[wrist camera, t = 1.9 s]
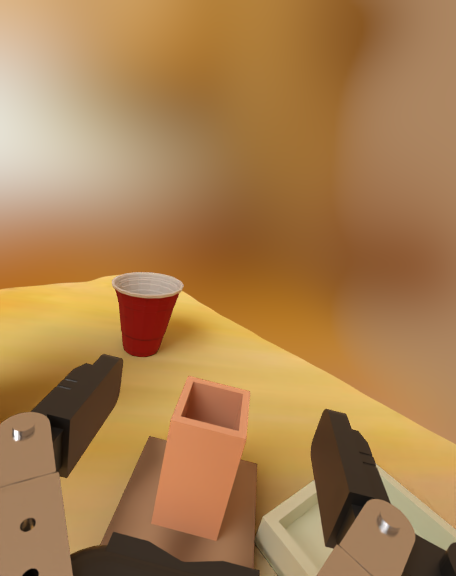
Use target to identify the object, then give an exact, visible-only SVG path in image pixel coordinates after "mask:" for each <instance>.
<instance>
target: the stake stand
mask: <svg viewBox="0 0 456 576" xmlns="http://www.w3.org/2000/svg"><path fill="white" fill-rule="evenodd" d="M166 443H167V441H166V440H163V439H159V438H155V437H151V436H149V438H148V440H147V442H146V445H145V447H144V449H143V451H142V454H141V456H140V458H139V460H138V462H137V465H136V467H135V469H134V471H133V473H132V476H131V478H130V480H129V482H128V485H127V487H126V489H125V491H124V493H123V496H122V498H121V500H120V502H119V504H118V507H117V509H116V511H115V513H114V515H113V518H112V520H111V522H110V524H109V527H108V529H107V531H106V533H105V535H104V538H103V540H102V542H101V544H100V545H108V542H109V540H110V538H111V535H112V533H113V532H117V533H120V534H124V535H128V536H132V537H135V538H139V539H143V540H147V541H149V542H151V543H153V544H154V545H156V546H158V547H159V548H161V549H163V550H164V551H166V552H168V553H169V554H171V555H172V556H174V557H176V558H177V559H179V560H181V561H184V562H201V561H226V562H230V563H233V564H237V565H241V566H245V567H248V568H252V569H253V568H254V539H255V511H256V482H257V464H256V463H252V462H248V461H244V460H240V462H239V466H238V469H237V473H236V476H235V479H234V483H233V486H232V490H231V493H230V496H229V500H228V503H227V507H226V510H225V513H224V517H223V520H222V524H221V527H220V530H219V534H218V537H217V541H214V540H210V539H207V538H203V537H199V536H195V535H192V534H188V533H184V532H181V531H177V530H173V529H169V528H166V527H162V526H158V525H154V524H151V522H152V516H153V511H154V506H155V501H156V495H157V490H158V485H159V479H160V474H161V469H162V464H163V458H164V453H165V448H166Z"/></svg>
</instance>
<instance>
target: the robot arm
mask: <svg viewBox="0 0 456 576" xmlns="http://www.w3.org/2000/svg"><path fill="white" fill-rule="evenodd" d="M122 368H123V359H122V358H118V357H114V356H110V355H106V354H103V355H101V356H100V358H99V359H98V360H97V361H96V362H95V363H94V364H93V365H91V364H87V363H86V364H84V365H81V366H79V367H77V368H75V369H73V370H72V371H71V372H70V373H69V374H68V375H67V376H66V377H65V379H64V380H62V381H61V382H60V383H59V384H58V386H57V387H55V388H54V389H53V390H52V391H51V392H50V393H49V394H48V395H47V396H46V397H45V398H44V399H43V400H42V401H41V402H40V403H39V404H38V405H37V406H36V407H35V408H34V409H33V410H32V411H31V412H25V413H20V414H17V415H14V416H11V417H9V418H8V419H6V420H5V421H3V422H2V423H1V424H0V576H259V570H256V569H252V568H248V567H245V566H241V565H237V564H233V563H230V562H226V561H201V562H184V561H181V560H179V559H177V558H176V557H174V556H172V555H171V554H169V553H168V552H166V551H164V550H163V549H161V548H159V547H158V546H156V545H154V544H153V543H151V542H149V541H147V540H143V539H139V538H135V537H132V536H128V535H124V534H120V533H117V532H113V533H112V535H111V538H110V540H109V542H108V545H99V546H93V547H89V548H85V549H82V550H80V551H77V552H75V553H72V554H71V555H70V550H69V543H68V535H67V528H66V520H65V513H64V505H63V498H62V490H61V483H60V476H61V477H65V478H67V477H68V476H69V474H70V473H71V471H72V470H73V468H74V467H75V465H76V464H77V462H78V461H79V459H80V458H81V456H82V455H83V453H84V452H85V450H86V449H87V447H88V446H89V444H90V443H91V441H92V440H93V438H94V437H95V435H96V434H97V432H98V431H99V429H100V428H101V426H102V425H103V423H104V422H105V420H106V419H107V417H108V416H109V414H110V413H111V411H112V410H113V408H114V406H115V404H116V402H117V400H118V397H119V393H120V385H121V377H122ZM311 461H312V467H313V473H314V480H315V486H316V492H317V499H318V505H319V511H320V517H321V524H322V530H323V536H324V543H325V547H329V548H333V551H332V552H331V554H330V555H329V557H328V558H327V560H326V561H325V563H324V564H323V566H322V568H321V569H320V571H319V572H318V574H317V575H316V576H456V542H454V543H452V544H450V546H449V547H448V549H447V550H444V549H442V548H440V547H438V546H436V545H434V544H433V543H431V542H429V541H427V540H425V539H423V538H422V537H420V536H418V535H417V534H415V532H414V529H413V527H412V525H411V523H410V521H409V520H408V519H407V517H406V516H405V515H404V514H403V513H402V512H401V511H400V510H399V509H398V508H396V507H395V506H393V505H392V504H391V503H390V500H389V497H388V495H387V492H386V489H385V487H384V484H383V482H382V479H381V476H380V474H379V471H378V469H377V467H376V463H375V461H374V458H373V457H372V453H371V450H370V448H369V445H368V443H367V441H366V440H365V439H364V438H363V436H362V435H361V434H360V433H359V431H356V430H352V429H351V426H350V423H349V420H348V417H347V415H346V414H345V413H340V412H336V411H332V410H328V409H325V410H324V411H323V413H322V416H321V419H320V421H319V424H318V427H317V430H316V432H315V435H314V438H313V441H312V445H311Z"/></svg>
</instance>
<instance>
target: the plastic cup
mask: <svg viewBox="0 0 456 576" xmlns="http://www.w3.org/2000/svg"><path fill="white" fill-rule="evenodd" d="M112 285H113V288H114V289H115V290H116V293H117V296H118V302H119V311H120V322H121V331H122V341H123V346H124V350H125V351H126V352H127V353H129V354H131V355H134V356H139V357H147V356H151V355H153V354H155V353H156V352H157V350H158V349H159V347H160V344H161V341H162V338H163V336H164V334H165V332H166V329H167V326H168V323H169V320H170V317H171V314H172V311H173V308H174V305H175V303H176V300H177V298H178V295H179V293H180V292H181V290H182V288H183V284H182V282H181V281H180V280H177V279H176V278H174V277H171V276H167V275H164V274H157V273H151V272H149V273H148V272H135V273H126V274H123V275H119V276H117V277H115V278H114V279H113V280H112Z"/></svg>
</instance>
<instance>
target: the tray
mask: <svg viewBox="0 0 456 576" xmlns="http://www.w3.org/2000/svg"><path fill="white" fill-rule="evenodd" d="M376 467H377V469H378V471H379V474H380V476H381V479H382V482H383V484H384V487H385V489H386V492H387V495H388V497H389V500H390V503H391V504H392V505H393V506H395V507H396V508H398V509H399V510H400V511H401V512H402V513H403V514H404V515H405V516H406V517H407V519H408V520H409V521H410V523H411V525H412V527H413V529H414V532H415V534H417V535H418V536H420V537H422V538H423V539H425V540H427V541H429V542H431V543H433V544H434V545H436V546H438V547H440V548H442V549H444V550H447V549H448V547H449V546H450V544H452V543H454V542H456V529H455V528H453V527H452V526H451V525H450V524H448V523H447V522H446V521H445V520H444V519H442V518H441V517H440V516H439V515H438V514H436V513H435V512H434V511H433V510H431V509H430V508H429V507H428V506H427V505H425V504H424V503H423V502H422V501H421V500H419V499H418V498H417V497H416V496H414V495H413V494H412V493H411V492H410V491H408V490H407V489H406V488H405V487H404V486H402V485H401V484H400V483H399V482H397V481H396V480H395V479H394V478H393V477H391V476H390V475H389V474H388V473H387V472H385V471H384V470H383V469H382V468H381V467H379V466H378V465H377V464H376ZM254 543H255V544H256V546H257V547H258V549H259V550H260V551H261V553H262V554H263V556H264V557H265V558H266V560H267V561H268V563H269V564H270V565H271V567H272V568H273V569H274V571H275V572H276V574H277V575H278V576H316V575H317V574H318V572H319V571H320V569H321V568H322V566H323V564H324V563H325V561H326V560H327V558H328V557H329V555H330V554H331V552H332V551H333V548H329V547H325V543H324V536H323V530H322V524H321V517H320V511H319V505H318V499H317V492H316V486H315V480H313V481H312V482H310V483H309V484H308V485H306V486H305V487H303V488H302V489H301V490H299V491H298V492H296V493H295V494H294V495H292V496H291V497H290V498H288V499H287V500H285V501H284V502H283V503H281V504H280V505H278V506H277V507H276V508H274V509H273V510H271V511H270V512H269V513H267V514H266V515H264V516H263V517H262V520H261V523H260V526H259V528H258V531H257V534H256V537H255V540H254Z"/></svg>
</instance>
